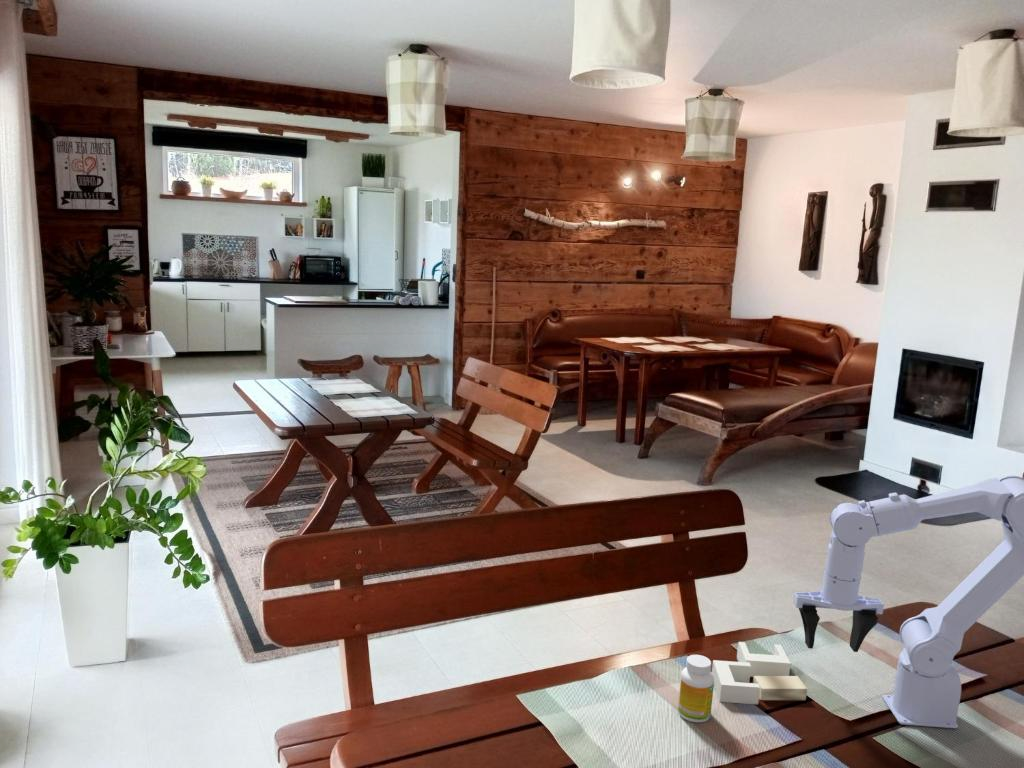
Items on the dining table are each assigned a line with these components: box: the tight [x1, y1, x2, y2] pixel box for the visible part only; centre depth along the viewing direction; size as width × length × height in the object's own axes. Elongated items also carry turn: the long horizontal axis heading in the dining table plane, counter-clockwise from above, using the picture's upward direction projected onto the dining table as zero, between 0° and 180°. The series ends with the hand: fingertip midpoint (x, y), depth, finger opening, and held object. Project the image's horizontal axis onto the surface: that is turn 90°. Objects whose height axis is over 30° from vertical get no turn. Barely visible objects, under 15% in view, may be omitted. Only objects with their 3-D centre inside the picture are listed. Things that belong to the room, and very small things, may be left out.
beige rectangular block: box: [752, 675, 808, 701], centre depth 142 cm, size 8×4×2 cm, turn 93°
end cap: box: [711, 659, 760, 705], centre depth 142 cm, size 6×8×3 cm
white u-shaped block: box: [736, 641, 791, 678], centre depth 149 cm, size 6×8×3 cm
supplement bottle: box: [677, 654, 715, 723], centre depth 134 cm, size 5×5×10 cm
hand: (831, 647), depth 139 cm, fingers open, 7 cm apart
